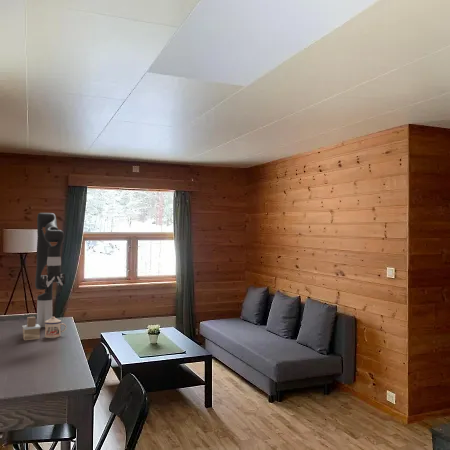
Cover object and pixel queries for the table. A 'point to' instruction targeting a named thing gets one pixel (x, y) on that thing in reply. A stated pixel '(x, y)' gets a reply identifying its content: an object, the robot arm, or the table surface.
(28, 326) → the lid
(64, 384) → the table surface
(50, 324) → the teacup with lid
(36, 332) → the box
